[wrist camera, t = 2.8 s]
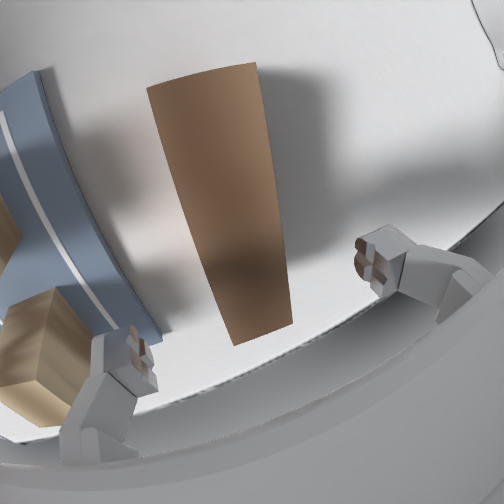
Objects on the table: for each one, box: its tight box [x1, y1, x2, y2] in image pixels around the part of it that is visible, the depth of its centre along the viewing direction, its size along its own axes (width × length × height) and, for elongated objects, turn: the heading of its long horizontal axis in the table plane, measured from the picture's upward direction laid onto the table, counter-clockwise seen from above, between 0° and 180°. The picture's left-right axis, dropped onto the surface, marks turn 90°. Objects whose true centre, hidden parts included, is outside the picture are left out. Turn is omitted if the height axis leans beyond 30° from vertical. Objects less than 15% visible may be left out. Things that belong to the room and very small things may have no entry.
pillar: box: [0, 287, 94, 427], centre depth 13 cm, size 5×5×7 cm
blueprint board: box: [0, 71, 163, 346], centre depth 13 cm, size 14×20×1 cm
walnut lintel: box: [146, 62, 293, 346], centre depth 14 cm, size 4×13×6 cm, turn 10°
